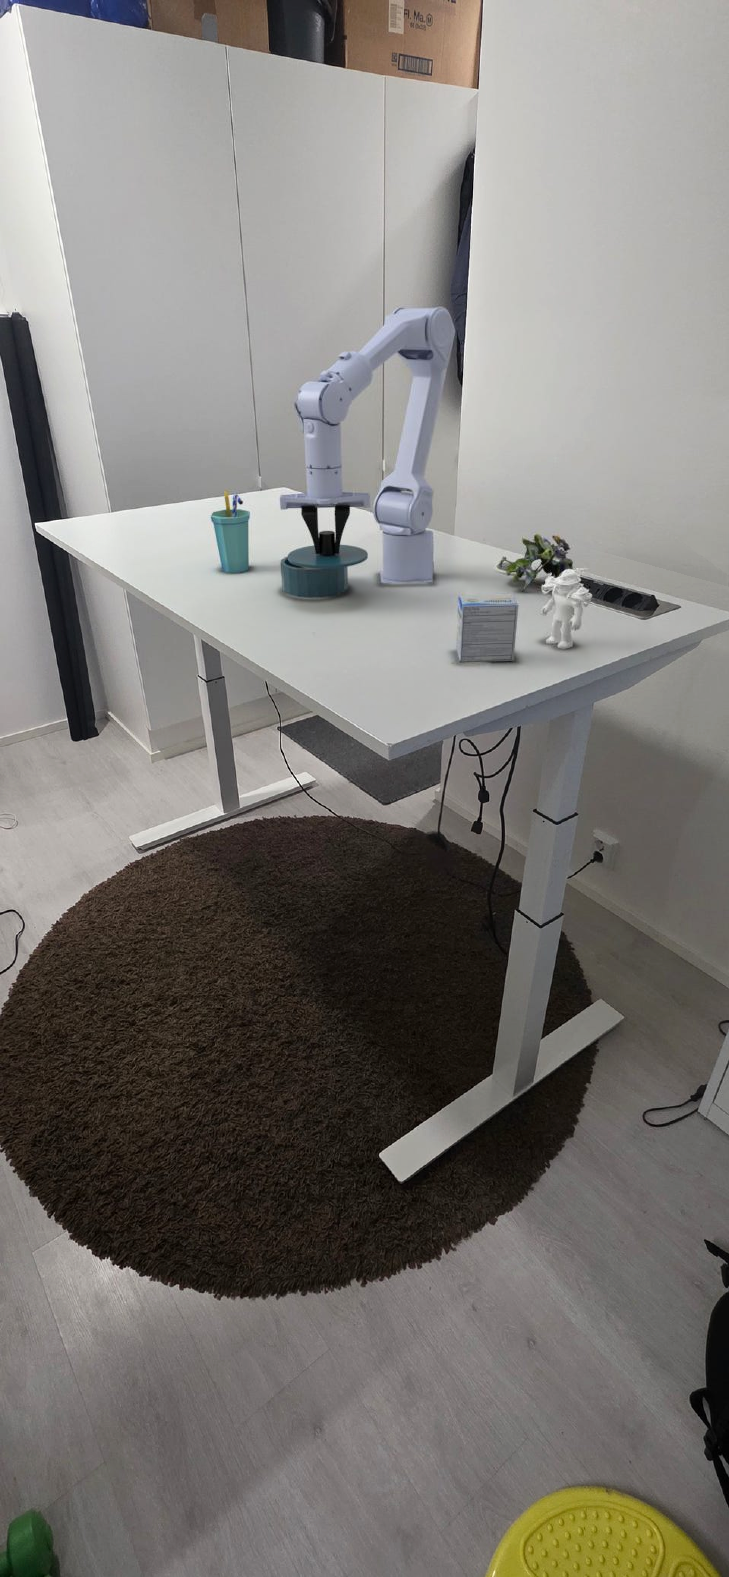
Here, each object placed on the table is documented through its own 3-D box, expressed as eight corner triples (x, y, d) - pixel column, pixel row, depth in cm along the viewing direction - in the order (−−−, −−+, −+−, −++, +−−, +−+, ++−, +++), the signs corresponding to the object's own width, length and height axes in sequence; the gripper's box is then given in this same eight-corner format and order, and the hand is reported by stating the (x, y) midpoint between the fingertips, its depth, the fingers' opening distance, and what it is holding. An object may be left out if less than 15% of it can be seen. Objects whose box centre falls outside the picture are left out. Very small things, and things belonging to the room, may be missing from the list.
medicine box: (508, 651, 120) (513, 593, 115) (514, 662, 116) (519, 603, 111) (455, 652, 120) (457, 594, 115) (459, 664, 116) (462, 604, 111)
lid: (367, 549, 142) (366, 522, 140) (368, 571, 130) (368, 541, 128) (290, 551, 142) (288, 524, 139) (285, 573, 130) (283, 543, 128)
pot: (348, 580, 152) (347, 551, 149) (347, 600, 142) (346, 569, 139) (285, 581, 152) (283, 552, 149) (280, 601, 142) (278, 570, 139)
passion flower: (552, 613, 150) (595, 567, 141) (512, 615, 144) (555, 567, 135) (522, 568, 154) (562, 520, 145) (482, 567, 147) (522, 517, 139)
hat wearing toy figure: (590, 650, 119) (601, 569, 113) (570, 655, 118) (580, 573, 112) (549, 632, 126) (557, 554, 120) (529, 637, 125) (537, 558, 118)
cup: (267, 576, 155) (261, 494, 147) (228, 582, 152) (219, 499, 144) (245, 559, 166) (238, 482, 158) (208, 564, 163) (199, 486, 155)
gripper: (276, 471, 125) (282, 560, 132) (370, 469, 125) (371, 558, 132) (279, 464, 131) (285, 548, 138) (369, 462, 131) (370, 546, 138)
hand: (327, 552), depth 135 cm, fingers closed on lid, 2 cm apart
